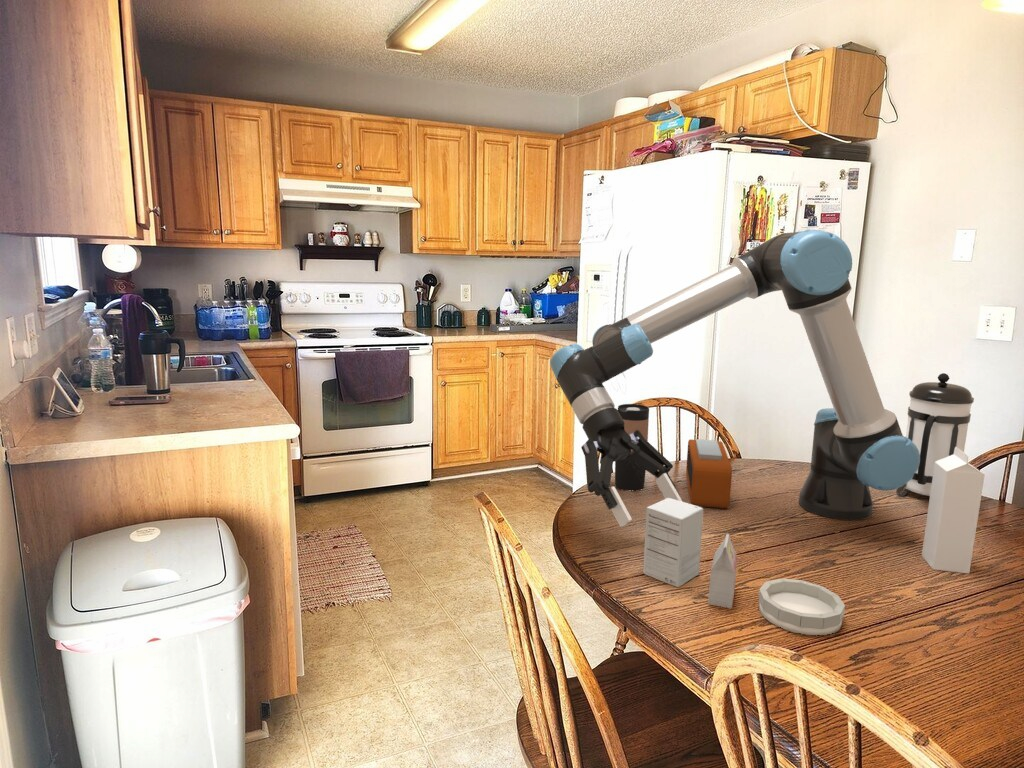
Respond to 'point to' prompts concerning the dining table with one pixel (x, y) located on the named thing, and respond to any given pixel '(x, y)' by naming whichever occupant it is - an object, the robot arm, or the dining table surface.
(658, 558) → the supplement box
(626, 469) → the travel mug
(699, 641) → the dining table surface
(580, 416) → the robot arm
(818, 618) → the white faceted bowl
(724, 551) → the white juice carton
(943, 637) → the dining table surface
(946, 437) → the coffee press
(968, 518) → the milk
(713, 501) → the alarm clock
